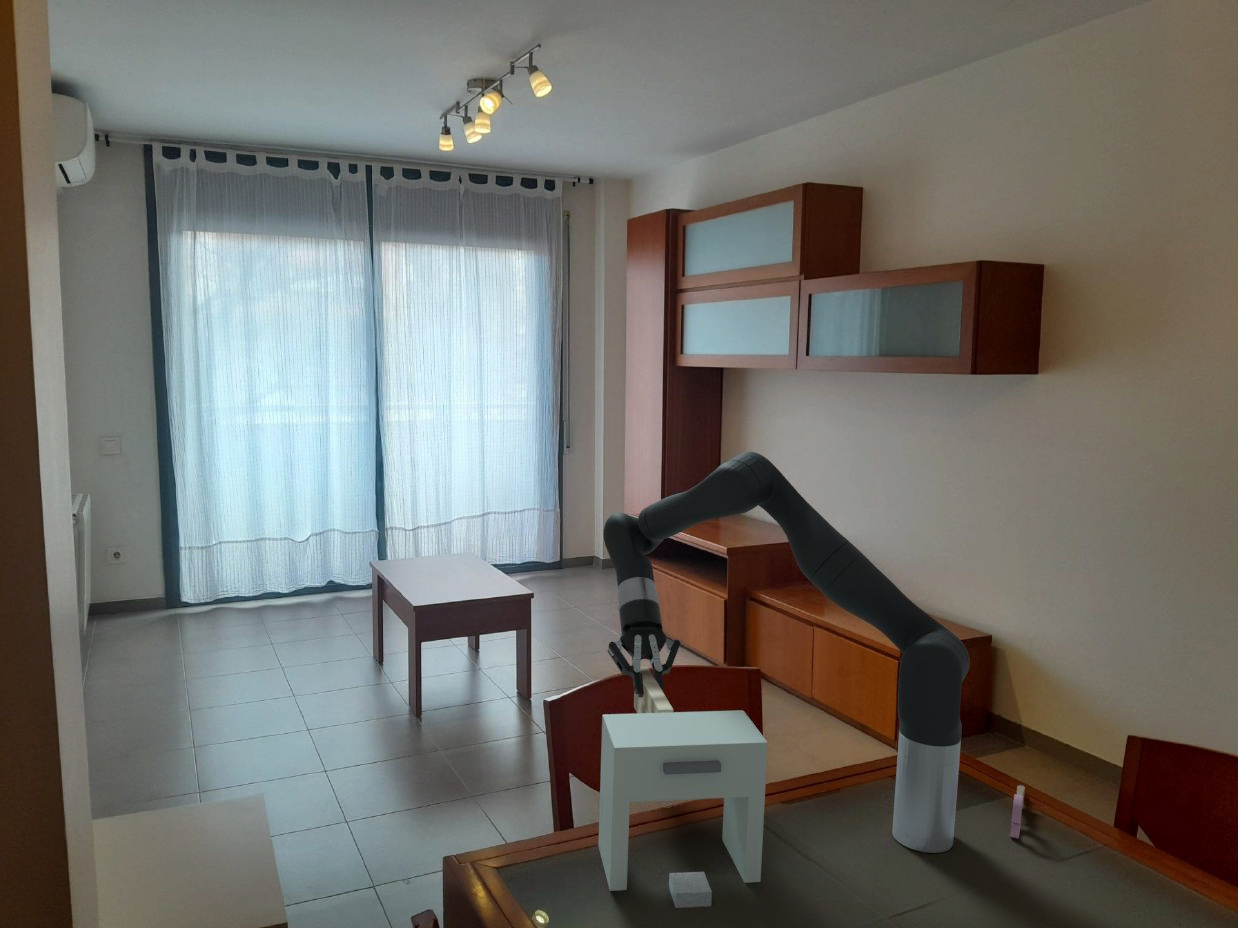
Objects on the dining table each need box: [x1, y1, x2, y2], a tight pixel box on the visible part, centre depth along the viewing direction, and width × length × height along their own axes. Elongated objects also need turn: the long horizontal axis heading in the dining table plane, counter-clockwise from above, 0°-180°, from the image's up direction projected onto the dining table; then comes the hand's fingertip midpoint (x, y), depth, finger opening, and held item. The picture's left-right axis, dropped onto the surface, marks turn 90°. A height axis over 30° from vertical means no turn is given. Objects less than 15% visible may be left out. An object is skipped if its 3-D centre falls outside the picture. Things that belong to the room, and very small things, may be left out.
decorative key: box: [1009, 784, 1026, 839], centre depth 155 cm, size 7×1×20 cm
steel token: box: [668, 871, 713, 909], centre depth 128 cm, size 5×5×2 cm
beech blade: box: [633, 666, 674, 714], centre depth 157 cm, size 22×2×8 cm, turn 9°
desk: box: [598, 709, 769, 892], centre depth 135 cm, size 13×22×21 cm, turn 99°
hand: (650, 694), depth 159 cm, fingers closed on beech blade, 2 cm apart
